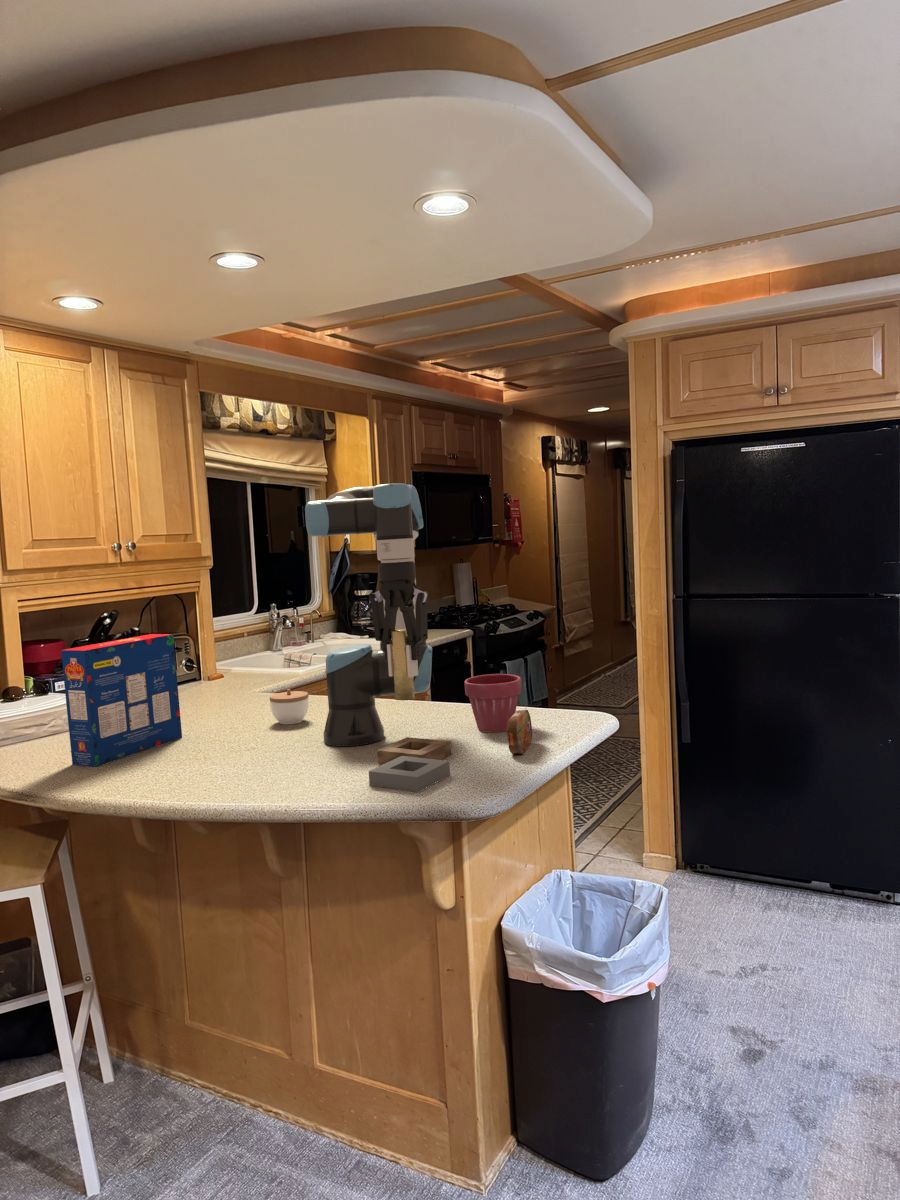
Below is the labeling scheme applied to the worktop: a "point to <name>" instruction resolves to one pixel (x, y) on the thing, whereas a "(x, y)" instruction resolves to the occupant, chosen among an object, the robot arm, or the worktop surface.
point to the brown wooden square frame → (415, 749)
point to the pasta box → (121, 698)
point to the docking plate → (409, 773)
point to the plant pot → (493, 699)
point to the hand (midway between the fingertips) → (403, 675)
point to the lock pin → (401, 666)
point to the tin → (519, 732)
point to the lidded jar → (289, 706)
